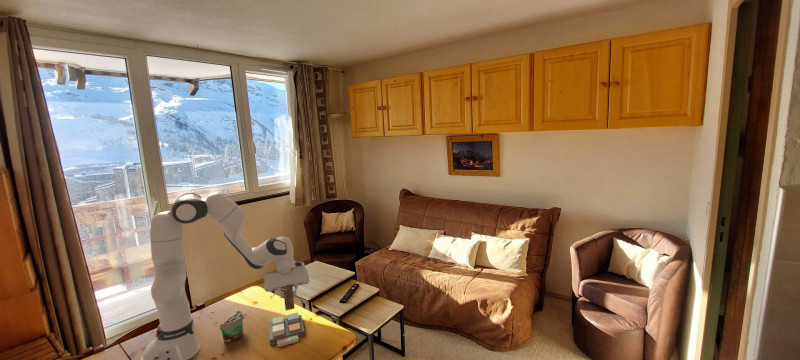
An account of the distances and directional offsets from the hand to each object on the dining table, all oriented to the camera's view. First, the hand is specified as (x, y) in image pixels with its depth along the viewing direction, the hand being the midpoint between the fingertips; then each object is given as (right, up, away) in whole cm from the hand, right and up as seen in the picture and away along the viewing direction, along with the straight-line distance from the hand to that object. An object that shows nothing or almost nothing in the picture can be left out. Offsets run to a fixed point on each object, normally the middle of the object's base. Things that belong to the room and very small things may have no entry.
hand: (288, 296), depth 151 cm
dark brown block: (0, -6, +1) cm, 6 cm away
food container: (-25, -20, +2) cm, 32 cm away
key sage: (-7, -16, +7) cm, 19 cm away
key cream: (-5, -17, 0) cm, 18 cm away
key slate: (-1, -15, +9) cm, 18 cm away
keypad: (-2, -19, +4) cm, 19 cm away
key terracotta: (+2, -18, +3) cm, 18 cm away
